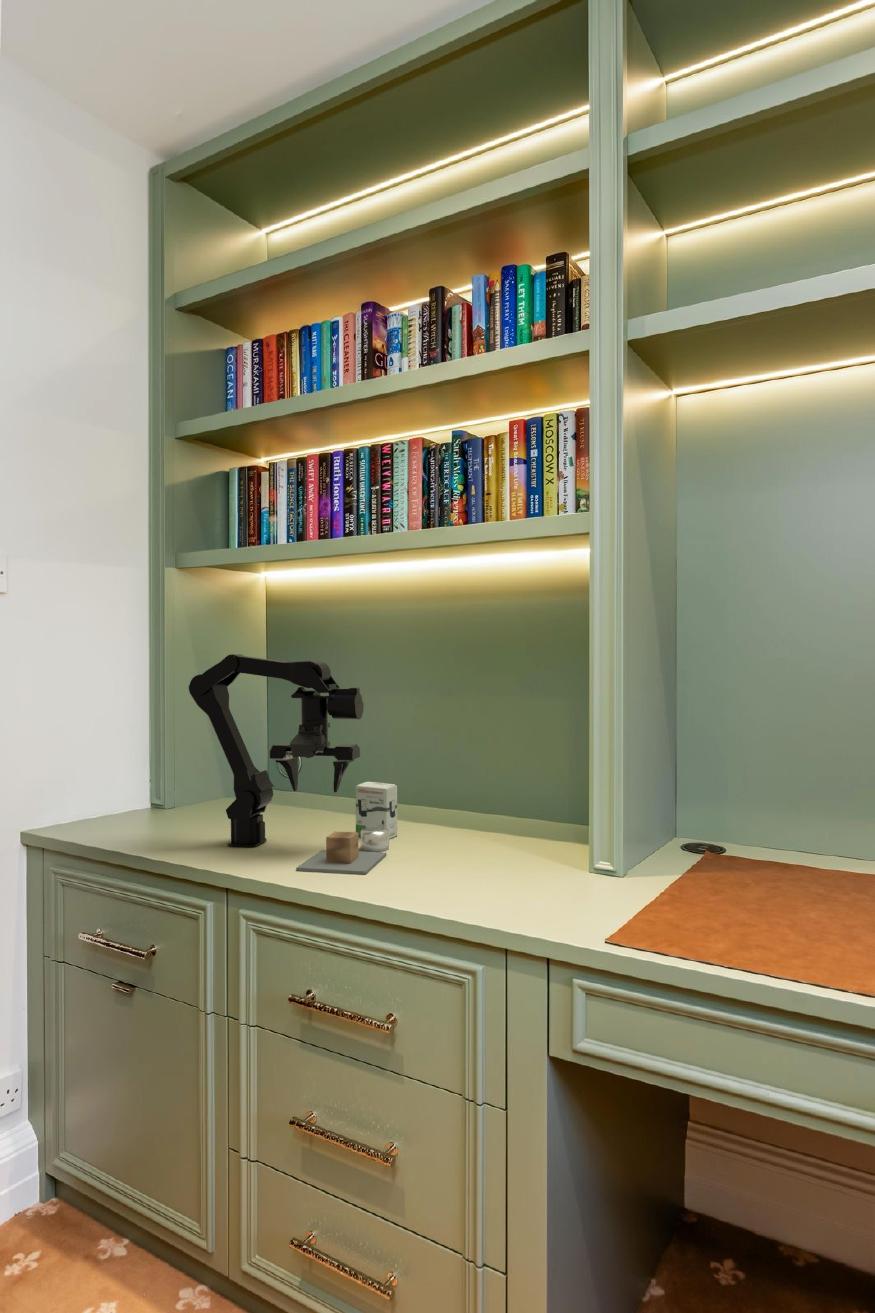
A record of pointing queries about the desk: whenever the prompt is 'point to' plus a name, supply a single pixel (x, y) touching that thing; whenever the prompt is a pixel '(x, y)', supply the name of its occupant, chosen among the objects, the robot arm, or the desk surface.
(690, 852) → the desk surface
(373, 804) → the ink box
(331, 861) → the walnut block
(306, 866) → the mat
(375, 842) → the tin
